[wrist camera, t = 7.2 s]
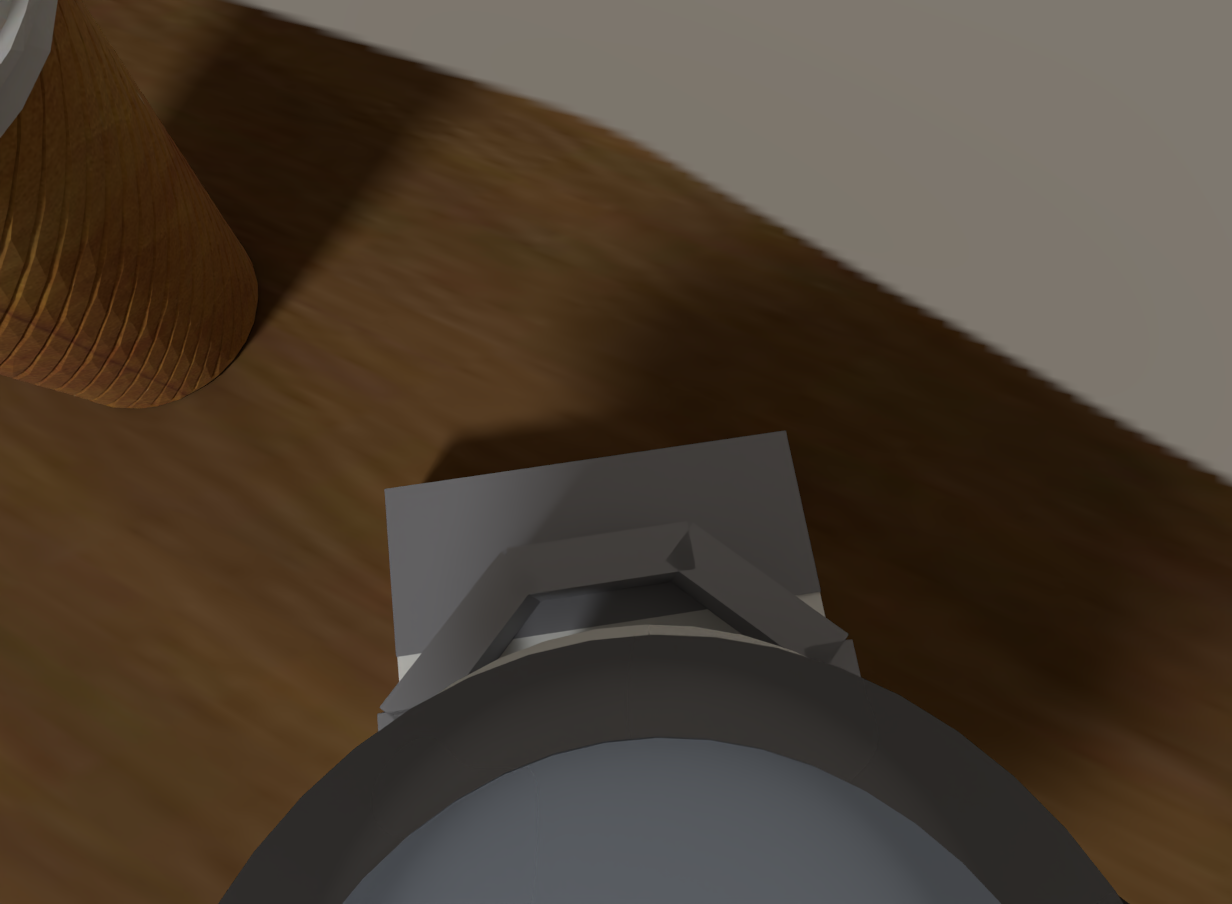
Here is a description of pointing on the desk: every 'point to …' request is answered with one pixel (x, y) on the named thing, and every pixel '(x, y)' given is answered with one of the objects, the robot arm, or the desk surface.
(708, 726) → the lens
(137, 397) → the disposable coffee cup
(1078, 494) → the desk surface
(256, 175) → the desk surface
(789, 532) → the octagonal ring on plate
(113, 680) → the desk surface
